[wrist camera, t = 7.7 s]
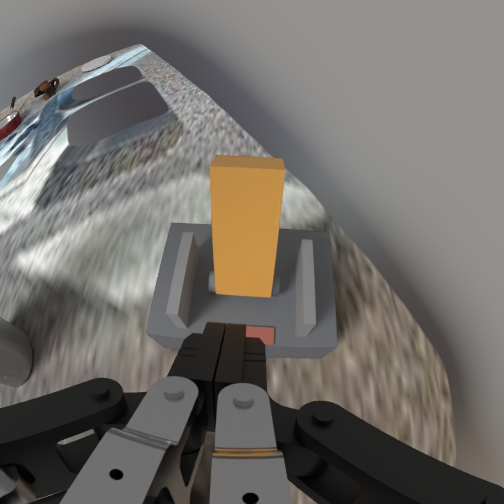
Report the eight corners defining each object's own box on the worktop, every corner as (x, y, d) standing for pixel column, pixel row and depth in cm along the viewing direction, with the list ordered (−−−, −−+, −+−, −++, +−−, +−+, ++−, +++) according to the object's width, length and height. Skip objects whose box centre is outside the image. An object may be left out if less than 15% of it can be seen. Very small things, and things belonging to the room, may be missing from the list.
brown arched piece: (39, 106, 69) (29, 92, 64) (44, 107, 76) (34, 95, 71) (62, 84, 71) (52, 71, 66) (65, 88, 78) (56, 75, 73)
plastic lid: (117, 58, 88) (116, 53, 86) (100, 70, 81) (99, 65, 79) (93, 63, 89) (92, 59, 87) (76, 76, 82) (75, 71, 79)
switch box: (163, 346, 29) (130, 320, 21) (181, 250, 36) (163, 199, 28) (321, 358, 29) (351, 336, 21) (317, 258, 36) (338, 209, 27)
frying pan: (2, 118, 70) (-2, 108, 65) (25, 102, 74) (20, 92, 69) (-7, 147, 57) (-14, 134, 52) (20, 126, 61) (14, 113, 56)
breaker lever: (208, 298, 26) (199, 166, 18) (213, 280, 28) (206, 155, 20) (277, 303, 25) (295, 171, 18) (277, 284, 27) (292, 159, 20)
